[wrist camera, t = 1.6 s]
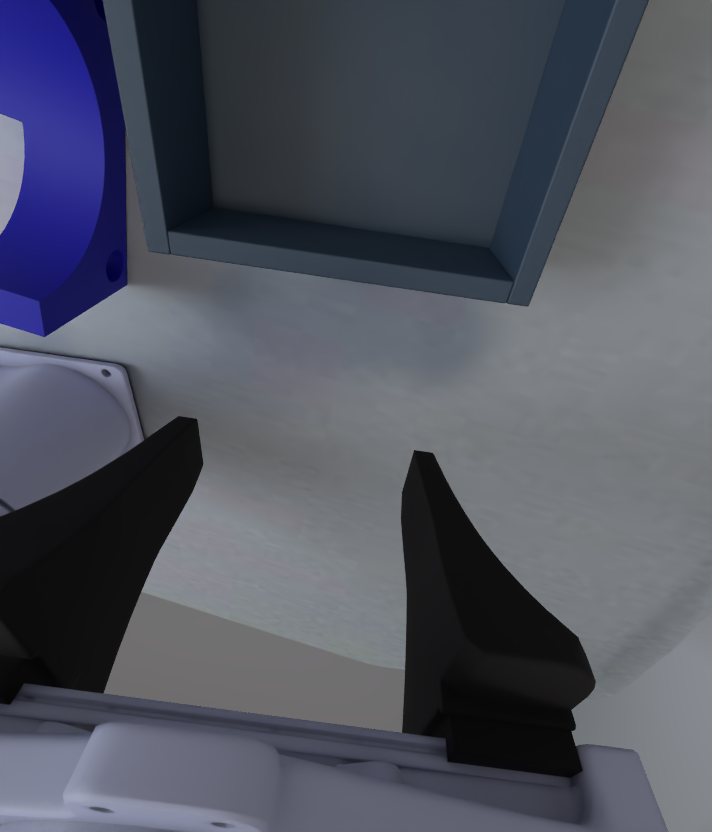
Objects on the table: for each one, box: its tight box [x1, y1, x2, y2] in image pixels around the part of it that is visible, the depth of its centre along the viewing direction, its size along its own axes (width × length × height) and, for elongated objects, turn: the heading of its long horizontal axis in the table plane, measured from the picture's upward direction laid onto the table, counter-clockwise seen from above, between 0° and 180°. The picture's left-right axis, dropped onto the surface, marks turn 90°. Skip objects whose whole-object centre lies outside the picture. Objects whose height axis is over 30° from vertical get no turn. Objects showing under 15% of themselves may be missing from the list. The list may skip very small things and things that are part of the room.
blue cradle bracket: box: [0, 0, 127, 337], centre depth 14 cm, size 12×4×6 cm, turn 161°
